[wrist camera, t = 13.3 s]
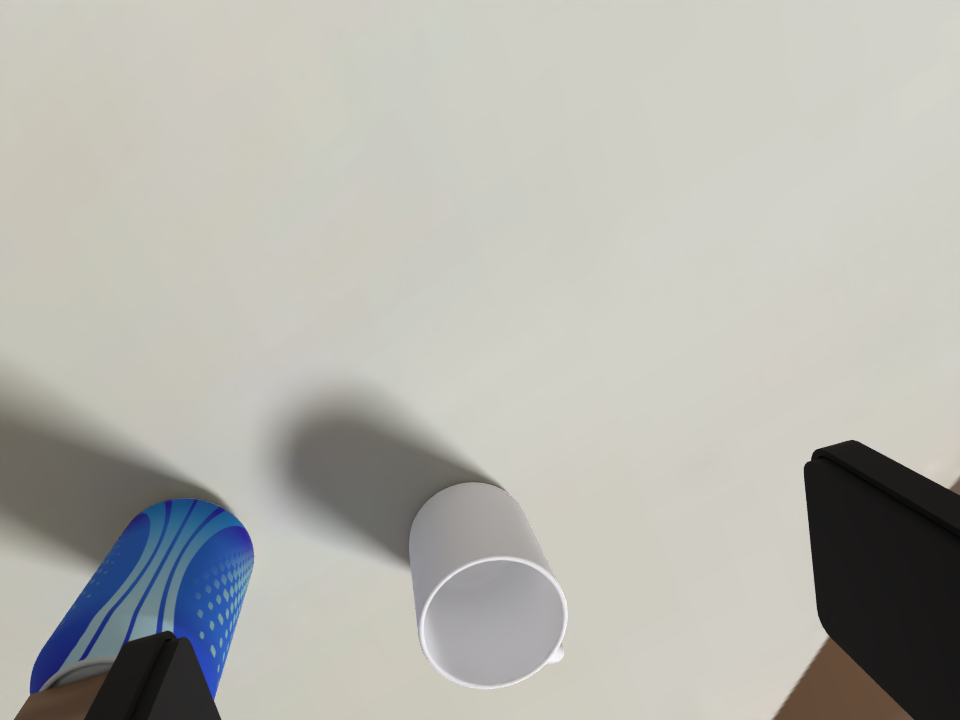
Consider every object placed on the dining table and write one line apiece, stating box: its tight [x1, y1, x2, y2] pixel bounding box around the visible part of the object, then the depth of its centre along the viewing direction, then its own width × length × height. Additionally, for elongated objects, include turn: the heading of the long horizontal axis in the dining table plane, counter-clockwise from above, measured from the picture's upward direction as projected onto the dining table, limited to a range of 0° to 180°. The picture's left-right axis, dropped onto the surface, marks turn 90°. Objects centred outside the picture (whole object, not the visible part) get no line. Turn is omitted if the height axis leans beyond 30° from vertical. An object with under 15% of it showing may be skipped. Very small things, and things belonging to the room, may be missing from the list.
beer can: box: [30, 498, 254, 700], centre depth 40 cm, size 8×8×16 cm
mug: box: [409, 482, 567, 689], centre depth 46 cm, size 9×12×11 cm
